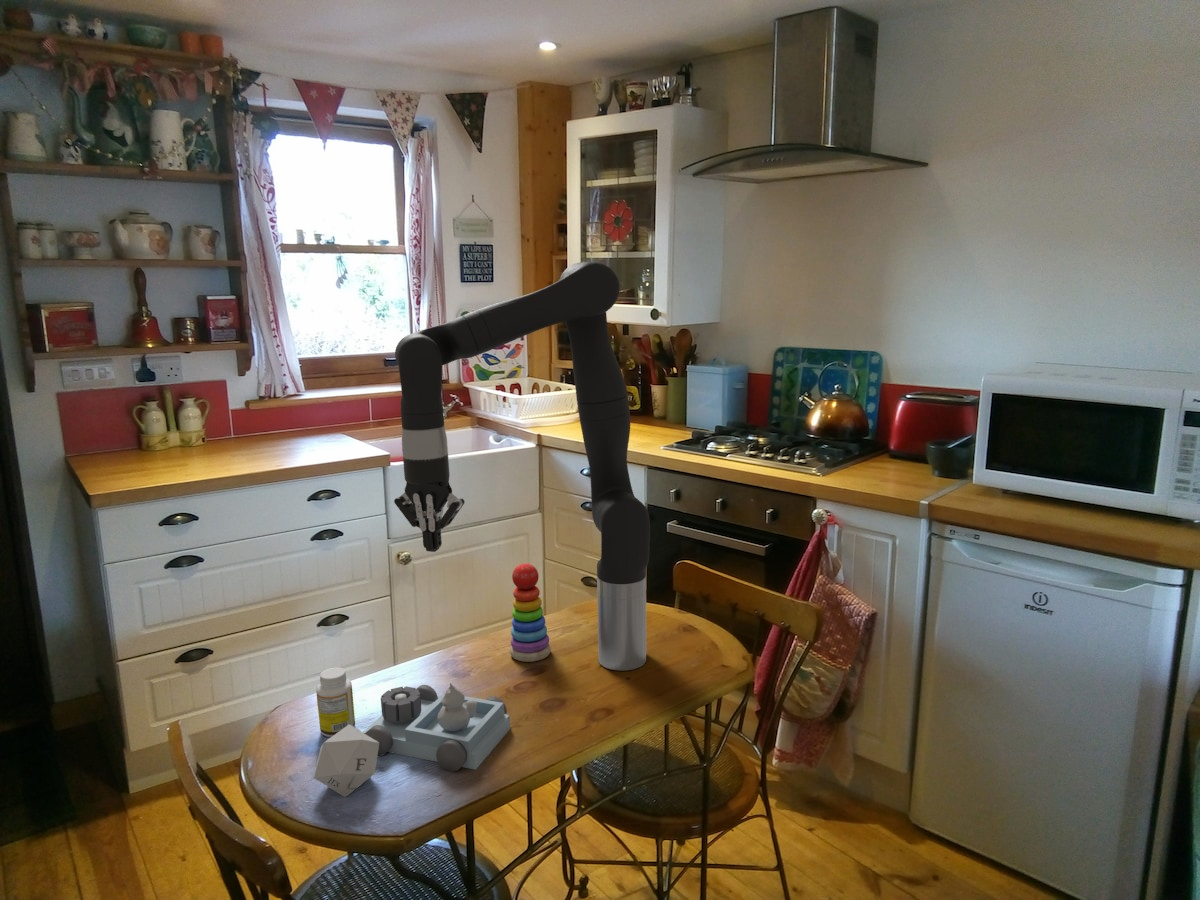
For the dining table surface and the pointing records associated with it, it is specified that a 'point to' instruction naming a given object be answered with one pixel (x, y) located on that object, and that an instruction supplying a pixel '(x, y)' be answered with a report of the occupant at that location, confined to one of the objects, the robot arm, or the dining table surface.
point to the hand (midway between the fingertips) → (432, 550)
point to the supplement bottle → (334, 701)
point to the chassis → (443, 733)
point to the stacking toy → (528, 617)
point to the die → (346, 760)
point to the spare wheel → (401, 705)
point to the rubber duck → (455, 710)
